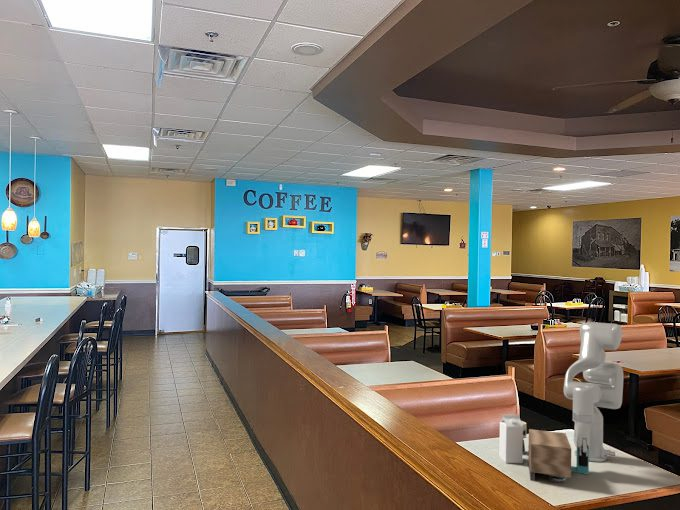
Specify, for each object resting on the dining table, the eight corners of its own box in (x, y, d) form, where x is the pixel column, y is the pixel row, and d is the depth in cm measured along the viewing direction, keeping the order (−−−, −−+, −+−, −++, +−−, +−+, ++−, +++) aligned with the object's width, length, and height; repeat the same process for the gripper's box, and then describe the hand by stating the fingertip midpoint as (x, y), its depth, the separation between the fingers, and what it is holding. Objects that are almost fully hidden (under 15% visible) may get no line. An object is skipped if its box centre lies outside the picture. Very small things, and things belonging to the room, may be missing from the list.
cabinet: (565, 468, 209) (565, 433, 210) (570, 487, 190) (571, 448, 191) (528, 463, 214) (528, 429, 214) (530, 481, 195) (531, 443, 195)
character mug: (525, 457, 221) (525, 426, 221) (507, 454, 224) (508, 424, 224) (526, 449, 231) (527, 420, 232) (510, 447, 234) (510, 418, 234)
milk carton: (499, 457, 220) (499, 412, 221) (515, 457, 221) (515, 412, 221) (505, 463, 213) (506, 416, 214) (522, 463, 214) (523, 416, 214)
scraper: (585, 466, 212) (585, 441, 212) (590, 479, 198) (591, 452, 199) (536, 460, 217) (537, 436, 218) (538, 472, 204) (539, 446, 204)
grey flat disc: (553, 476, 202) (553, 473, 202) (569, 480, 197) (568, 476, 197) (546, 479, 198) (546, 476, 198) (561, 483, 193) (561, 480, 193)
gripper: (570, 411, 215) (569, 456, 215) (575, 422, 200) (574, 470, 199) (590, 413, 213) (589, 458, 212) (596, 424, 198) (596, 473, 197)
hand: (582, 464), depth 206 cm, fingers closed on scraper, 3 cm apart
